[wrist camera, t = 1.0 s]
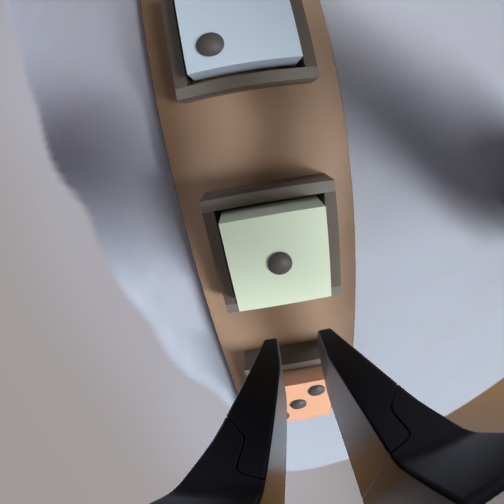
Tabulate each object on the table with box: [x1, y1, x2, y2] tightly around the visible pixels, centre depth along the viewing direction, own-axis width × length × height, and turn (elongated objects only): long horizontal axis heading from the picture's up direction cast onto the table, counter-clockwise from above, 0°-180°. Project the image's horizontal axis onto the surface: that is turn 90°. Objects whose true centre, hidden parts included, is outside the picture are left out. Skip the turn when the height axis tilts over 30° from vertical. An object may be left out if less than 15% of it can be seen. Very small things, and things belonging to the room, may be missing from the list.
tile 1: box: [219, 196, 331, 312], centre depth 15 cm, size 5×5×2 cm
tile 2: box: [174, 0, 303, 81], centre depth 10 cm, size 5×5×2 cm
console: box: [140, 0, 355, 407], centre depth 17 cm, size 10×36×3 cm, turn 10°
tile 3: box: [283, 364, 331, 422], centre depth 20 cm, size 5×5×2 cm
